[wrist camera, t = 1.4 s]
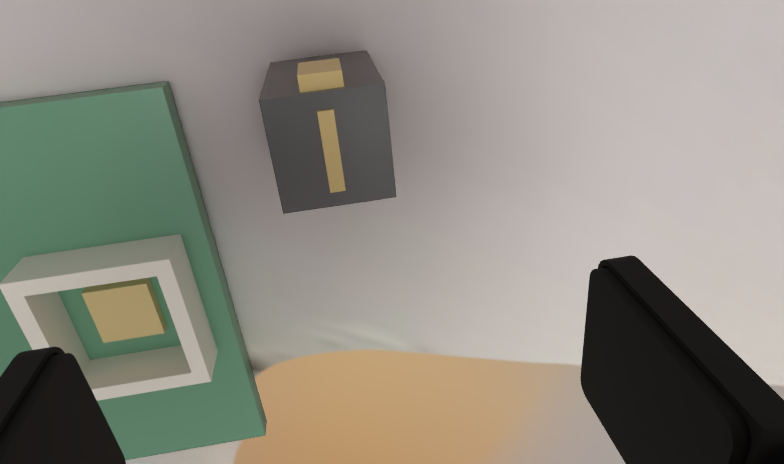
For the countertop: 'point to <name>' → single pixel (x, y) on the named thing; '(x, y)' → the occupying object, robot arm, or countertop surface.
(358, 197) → the plug
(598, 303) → the robot arm
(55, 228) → the board
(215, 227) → the countertop surface
